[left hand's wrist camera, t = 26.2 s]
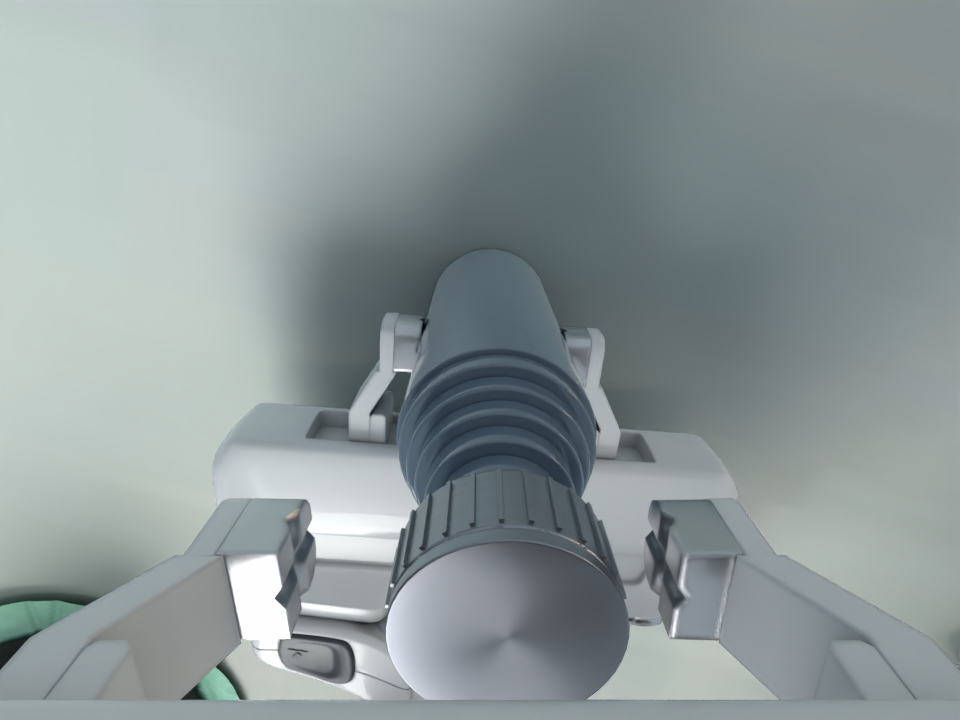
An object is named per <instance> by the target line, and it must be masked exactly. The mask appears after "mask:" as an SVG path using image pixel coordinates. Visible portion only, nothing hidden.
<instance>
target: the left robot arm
mask: <svg viewBox="0 0 960 720" xmlns="http://www.w3.org/2000/svg"><path fill="white" fill-rule="evenodd" d="M311 520H312V513H311V507H310V503H309V502H308V501H307V500H306V499H267V498H254V499H252V498H228V499H225V500H223V501H222V502H221V503H220V504H219V506H218V507H217V509H216V510H215V511H214V513H213V514H212V516H211V517H210V518H209V520H208V521H207V523H206V524H205V525H204V527H203V528H202V530H201V531H200V533H199V534H198V535H197V537H196V538H195V540H194V541H193V542H192V544H191V545H190V547H189V548H188V549H187V551H186V552H185V554H184V555H181V556H173V557H171V558H169V559H168V560H166V561H164V562H162V563H161V564H159V565H157V566H155V567H154V568H152V569H150V570H148V571H147V572H145V573H143V574H141V575H139V576H138V577H136V578H134V579H132V580H131V581H129V582H127V583H125V584H124V585H122V586H120V587H118V588H116V589H115V590H113V591H111V592H109V593H108V594H106V595H104V596H102V597H101V598H99V599H97V600H95V601H93V602H92V603H90V604H88V605H86V606H85V607H83V608H81V609H79V610H78V611H76V612H74V613H72V614H70V615H69V616H67V617H65V618H63V619H62V620H60V621H58V622H56V623H55V624H53V625H51V626H49V627H47V628H46V629H44V630H42V631H40V632H39V633H37V634H35V635H33V636H32V637H30V638H29V639H28V640H27V641H26V642H25V643H24V644H23V645H22V647H21V648H20V649H19V650H18V651H17V652H16V653H15V654H14V655H13V657H12V658H11V659H10V660H9V661H8V662H7V663H6V664H5V665H4V667H3V668H2V669H1V670H0V720H960V670H959V669H958V667H957V666H956V665H955V664H954V663H953V662H952V661H951V660H950V658H949V657H948V656H947V655H946V654H945V653H944V652H943V651H942V650H941V648H940V647H939V646H938V645H937V644H936V643H935V642H934V641H933V640H932V638H930V637H928V636H926V635H924V634H923V633H921V632H919V631H917V630H916V629H914V628H912V627H910V626H909V625H907V624H905V623H903V622H902V621H900V620H898V619H896V618H895V617H893V616H891V615H889V614H887V613H886V612H884V611H882V610H880V609H879V608H877V607H875V606H873V605H872V604H870V603H868V602H866V601H865V600H863V599H861V598H859V597H857V596H856V595H854V594H852V593H850V592H849V591H847V590H845V589H843V588H842V587H840V586H838V585H836V584H835V583H833V582H831V581H829V580H828V579H826V578H824V577H822V576H820V575H819V574H817V573H815V572H813V571H812V570H810V569H808V568H806V567H805V566H803V565H801V564H799V563H798V562H796V561H794V560H792V559H790V558H789V557H787V556H779V555H776V554H775V552H774V551H773V549H772V548H771V547H770V545H769V544H768V542H767V541H766V540H765V538H764V537H763V535H762V534H761V533H760V531H759V530H758V529H757V527H756V526H755V524H754V523H753V522H752V520H751V519H750V517H749V516H748V515H747V513H746V512H745V510H744V509H743V508H742V506H741V505H740V504H739V502H738V501H737V500H735V499H733V498H710V499H692V500H652V502H651V504H650V507H649V513H648V520H649V522H650V525H651V527H652V531H651V532H650V533H649V534H648V535H647V536H646V537H645V544H644V567H645V572H646V577H647V580H648V583H649V586H650V589H651V590H652V591H653V592H655V593H656V594H657V595H659V596H660V598H659V605H658V610H659V612H660V615H661V618H662V620H663V623H664V625H665V628H666V631H667V633H668V636H669V638H670V639H691V640H719V643H720V644H721V645H722V646H723V647H724V648H725V649H726V650H727V651H728V652H729V653H730V654H732V655H733V656H734V657H735V658H736V659H737V660H738V661H739V662H740V663H741V664H742V665H743V666H744V667H745V668H746V669H748V670H749V671H750V672H751V673H752V674H753V675H754V676H755V677H756V678H757V679H758V680H759V681H760V682H761V683H762V684H764V685H765V686H766V687H767V688H768V689H769V690H770V691H771V692H772V693H773V694H774V695H775V696H776V697H777V698H779V699H780V700H181V699H182V698H183V697H184V696H185V695H186V694H187V693H188V692H189V691H190V690H191V689H192V688H193V687H194V686H196V685H197V684H198V683H199V682H200V681H201V680H202V679H203V678H204V677H205V676H206V675H207V674H208V673H209V672H211V671H212V670H213V669H214V668H215V667H216V666H217V665H218V664H219V663H220V662H221V661H222V660H223V659H225V658H226V657H227V656H228V655H229V654H230V653H231V652H232V651H233V650H234V649H235V648H236V647H237V646H238V645H240V644H241V640H268V639H291V636H292V633H293V631H294V628H295V626H296V623H297V620H298V618H299V615H300V612H301V610H302V605H301V598H300V596H301V595H303V594H304V593H305V592H307V591H308V590H309V589H310V586H311V583H312V580H313V577H314V571H315V565H316V543H315V537H314V536H313V535H312V534H311V533H310V532H309V531H308V527H309V525H310V522H311Z"/></svg>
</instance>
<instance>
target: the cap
mask: <svg viewBox="0 0 960 720" xmlns="http://www.w3.org/2000/svg"><path fill="white" fill-rule="evenodd" d="M624 599H627V597H626V593H625V590H624V587H623V583H622V580H621V577H620V574H619V571H618V568H617V564H616V561H615V558H614V555H613V552H612V548H611V545H610V542H609V539H608V537H607V533H606V530H605V527H604V524H603V521H602V520H599V521H598V519H597V517H596V515H595V514H594V512H593V509H592V506H591V504H590V503H589V502H588V503H585V502H584V501H583V500H582V499H581V498H580V497H579V496H578V495H576V494H575V491H574V489H573V488H571V487H570V488H568V487H566V486H564V485H562V484H560V483H558V482H556V481H554V480H553V478H552V477H549V476H548V478H547V477H544V476H541V475H539V474H536V473H532V472H528V471H527V470H523V471H515V470H501V469H497V470H490V471H485V472H480V473H475V472H473V473H470V475H468V476H464V477H460V478H457V480H456V479H455V480H453V481H452V482H451V481H448V482H447V483H446V485H445V486H443V487H441V488H439V489H438V490H437V491H435V492H434V493H433V494H430V493H429V494H428V495H426V499H425V500H424V501H423V502H422V504H421V505H420V506H419V507H418V508H417V509H416V510H412V511H411V513H410V518H409V521H408V523H407V525H406V527H405V528H401V531H400V536H399V541H398V546H397V548H396V552H395V557H394V563H393V568H392V573H391V578H390V583H389V588H388V593H387V598H386V603H385V608H388V611H387V617H386V622H385V640H386V646H387V650H388V653H389V656H390V659H391V661H392V663H393V665H394V667H395V669H396V670H397V672H398V674H399V675H400V676H401V677H402V679H403V680H404V681H405V682H406V683H407V684H408V685H409V686H410V687H411V688H412V689H413V690H414V691H415V692H416V693H417V694H419V695H420V696H421V697H423V698H424V699H426V700H585V699H587V698H589V697H590V696H591V695H593V694H594V693H595V692H597V691H598V690H599V689H600V688H601V687H602V686H603V685H604V684H605V683H606V682H607V681H608V680H609V679H610V678H611V676H612V675H613V674H614V673H615V671H616V670H617V668H618V666H619V665H620V663H621V661H622V659H623V657H624V654H625V652H626V649H627V644H628V639H629V627H630V624H629V617H628V611H627V608H626V605H625V601H624Z"/></svg>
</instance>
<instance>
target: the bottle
mask: <svg viewBox="0 0 960 720" xmlns="http://www.w3.org/2000/svg"><path fill="white" fill-rule="evenodd" d="M396 436H397V448H398V453H399V462H400V467H401V471H402V474H403V477H404V479H405V482H406V483H407V485H408V487H409V489H410V491H411V492H412V495H413V497H414V498H415V500H416V502H417V504H418V506H420V505H421V504H422V502H423V501H424V500H425V499H426V495H428V494H429V493H430V494H433V493H434V492H435V491H437V490H438V489H439V488H441V487H443V486H445V485H446V483H447V482H448V481H451V482H452V481H453V480H455V479H456V480H457V478H460V477H464V476H468V475H470V473H473V472H475V473H480V472H485V471H490V470H497V469H501V470H515V471H523V470H527V471H528V472H532V473H536V474H539V475H541V476H544V477H547V478H548V476H549V477H552V478H553V480H554V481H556V482H558V483H560V484H562V485H564V486H566V487H568V488H570V487H571V488H573V489H574V491H575V494H576V495H578V496H579V497H580V498H582V496H583V493H584V491H585V488H586V486H587V483H588V481H589V479H590V476H591V474H592V471H593V467H594V463H595V457H596V437H597V433H596V421H595V416H594V412H593V409H592V407H591V404H590V401H589V399H588V396H587V394H586V391H585V389H584V386H583V384H582V381H581V379H580V376H579V374H578V372H577V369H576V367H575V364H574V362H573V359H572V357H571V354H570V352H569V349H568V347H567V344H566V342H565V339H564V337H563V334H562V332H561V329H560V327H559V325H558V322H557V320H556V317H555V315H554V312H553V310H552V307H551V305H550V302H549V300H548V297H547V295H546V292H545V290H544V287H543V285H542V282H541V280H540V278H539V277H538V275H537V273H536V272H535V271H534V269H533V268H532V267H531V266H530V265H529V264H528V263H527V262H526V261H524V260H523V259H522V258H520V257H518V256H516V255H514V254H512V253H510V252H507V251H503V250H498V249H482V250H476V251H472V252H469V253H467V254H465V255H463V256H461V257H459V258H457V259H456V260H455V261H453V262H452V263H451V264H450V265H449V266H448V267H447V268H446V269H445V270H444V272H443V273H442V275H441V276H440V278H439V280H438V282H437V284H436V287H435V290H434V294H433V297H432V301H431V304H430V308H429V312H428V315H427V319H426V322H425V326H424V329H423V333H422V336H421V340H420V343H419V347H418V351H417V354H416V358H415V361H414V365H413V368H412V372H411V375H410V379H409V382H408V386H407V389H406V393H405V397H404V400H403V404H402V407H401V411H400V415H399V419H398V423H397V433H396Z"/></svg>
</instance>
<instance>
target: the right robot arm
mask: <svg viewBox="0 0 960 720" xmlns="http://www.w3.org/2000/svg"><path fill="white" fill-rule="evenodd" d="M424 326H425V316H422V315H411V314H401V313H387V312H386V314H385V316H384V318H383V320H382V324H381V331H380V359H379V361H378V362H377V364H376V365H375V366H374V368H373V369H372V371H371V372H370V374H369V375H368V377H367V378H366V380H365V381H364V383H363V384H362V386H361V387H360V389H359V391H358V393H357V395H356V397H355V399H354V402H353V404H352V406H351V408H350V409H343V408H329V407H315V406H301V405H287V404H276V403H262V404H259V405H257V406H255V407H254V408H253V409H252V410H251V411H250V412H249V413H247V414H246V415H245V416H244V417H243V418H242V419H241V420H240V421H239V422H238V423H237V424H236V425H235V426H234V427H233V429H232V430H231V431H230V432H229V434H228V435H227V436H226V438H225V439H224V440H223V442H222V443H221V445H220V446H219V448H218V450H217V452H216V455H215V458H214V462H213V482H214V490H215V498H216V504H217V507H218V506H219V504H220V503H221V502H222V501H223V500H225V499H228V498H252V499H254V498H267V499H306V500H307V501H308V502H309V503H310V507H311V513H312V520H311V522H310V525H309V527H308V531H309V532H310V533H311V534H312V535H313V536H314V537H315V543H316V565H315V571H314V577H313V580H312V583H311V586H310V589H309V590H308V591H307V592H305V593H304V594H303V595H301V596H300V598H301V605H302V610H301V612H300V615H299V618H298V620H297V623H296V626H295V628H294V631H293V633H292V636H291V639H268V640H252V647H253V651H254V653H255V655H256V656H257V657H258V658H259V659H260V660H261V661H263V662H264V663H266V664H269V665H271V666H274V667H277V668H280V669H284V670H287V671H291V672H294V673H298V674H301V675H304V676H307V677H310V678H314V679H316V680H319V681H322V682H325V683H328V684H331V685H333V686H336V687H338V688H341V689H343V690H346V691H348V692H350V693H352V694H355V695H357V696H359V697H361V698H363V699H365V700H426V699H424V698H423V697H421V696H420V695H419V694H417V693H416V692H415V691H414V690H413V689H412V688H411V687H410V686H409V685H408V684H407V683H406V682H405V681H404V680H403V679H402V677H401V676H400V675H399V674H398V672H397V670H396V669H395V667H394V665H393V663H392V661H391V659H390V656H389V653H388V650H387V646H386V640H385V622H386V617H387V611H388V608H385V603H386V598H387V593H388V588H389V583H390V578H391V573H392V568H393V563H394V557H395V552H396V548H397V546H398V541H399V536H400V531H401V528H405V527H406V525H407V523H408V521H409V518H410V513H411V511H412V510H416V509H417V508H418V507H419V506H418V504H417V502H416V500H415V498H414V497H413V495H412V492H411V491H410V489H409V487H408V485H407V483H406V482H405V479H404V477H403V474H402V471H401V467H400V462H399V453H398V448H397V436H396V433H397V423H398V419H399V415H400V413H398V412H393V393H392V392H391V391H385V390H386V388H387V387H388V385H389V384H390V382H391V381H392V379H393V378H394V376H395V375H396V373H397V372H412V368H413V365H414V361H415V358H416V354H417V351H418V347H419V343H420V340H421V336H422V333H423V329H424ZM560 329H561V332H562V334H563V337H564V339H565V342H566V344H567V347H568V349H569V352H570V354H571V357H572V359H573V362H574V364H575V367H576V369H577V372H578V374H579V376H580V379H581V381H582V384H583V386H584V389H585V391H586V394H587V396H588V399H589V401H590V404H591V407H592V409H593V412H594V416H595V421H596V433H597V437H596V457H595V463H594V467H593V471H592V474H591V476H590V479H589V481H588V483H587V486H586V488H585V491H584V493H583V496H582V498H581V499H582V500H583V501H584V502H585V503H588V502H589V503H590V504H591V506H592V509H593V512H594V514H595V515H596V517H597V519H598V521H599V520H602V521H603V524H604V527H605V530H606V533H607V537H608V539H609V542H610V545H611V548H612V552H613V555H614V558H615V561H616V564H617V568H618V571H619V574H620V577H621V580H622V583H623V587H624V590H625V593H626V597H627V599H624V601H625V605H626V608H627V611H628V617H629V623H631V624H632V625H636V626H654V625H659V624H661V622H662V618H661V615H660V612H659V610H658V605H659V598H660V596H659V595H657V594H656V593H655V592H653V591H652V590H651V589H650V586H649V583H648V580H647V577H646V572H645V567H644V544H645V537H646V536H647V535H648V534H649V533H650V532H651V531H652V527H651V525H650V522H649V520H648V513H649V507H650V504H651V502H652V500H692V499H710V498H733V499H735V500H738V493H737V489H736V486H735V483H734V481H733V479H732V477H731V475H730V474H729V472H728V471H727V469H726V467H725V466H724V464H723V463H722V461H721V460H720V459H719V457H718V456H717V455H716V454H715V453H714V451H713V450H712V449H711V448H710V447H709V446H708V444H707V443H706V442H705V441H704V440H703V439H702V438H701V437H699V436H697V435H695V434H688V433H675V432H661V431H647V430H633V429H620V428H619V426H618V424H617V421H616V419H615V416H614V414H613V412H612V409H611V407H610V405H609V402H608V400H607V398H606V395H605V393H604V391H603V388H602V386H601V384H600V377H601V371H602V365H603V360H604V354H605V339H604V336H603V335H602V333H601V331H600V330H599V329H597V328H584V327H569V326H561V327H560Z"/></svg>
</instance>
